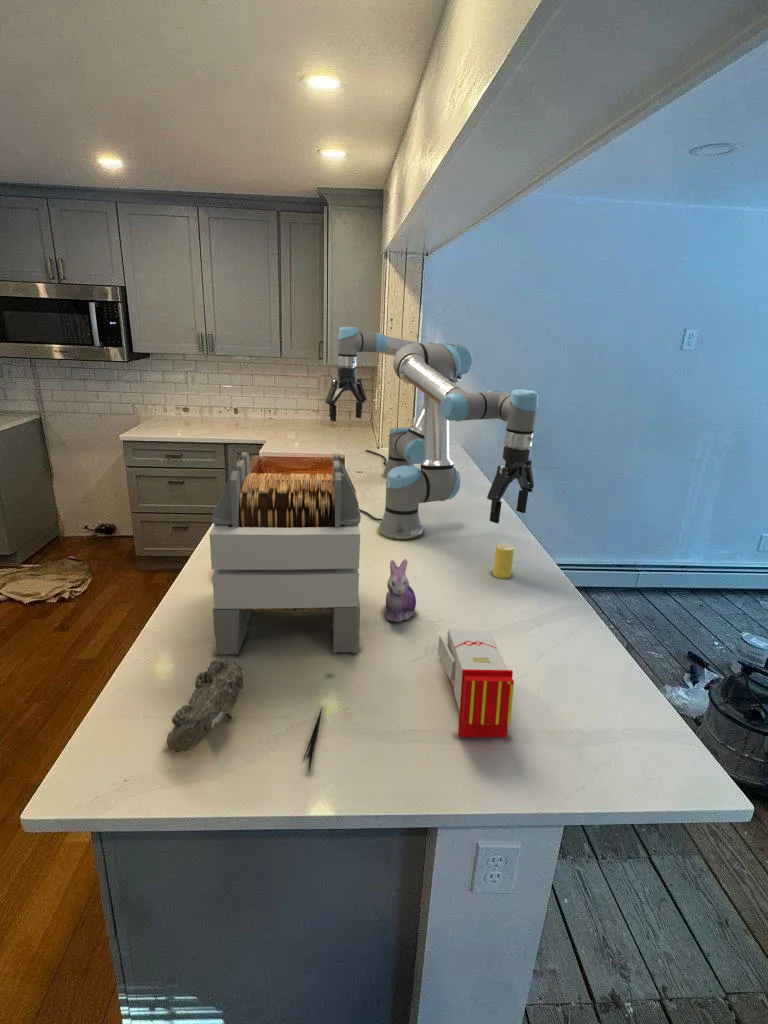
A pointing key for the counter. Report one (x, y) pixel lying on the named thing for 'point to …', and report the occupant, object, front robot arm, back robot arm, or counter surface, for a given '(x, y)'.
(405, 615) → the figurine
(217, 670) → the fossil
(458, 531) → the counter surface
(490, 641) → the toy
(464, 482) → the counter surface
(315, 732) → the feather
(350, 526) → the transformer
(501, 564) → the yellow cylinder
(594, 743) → the counter surface
